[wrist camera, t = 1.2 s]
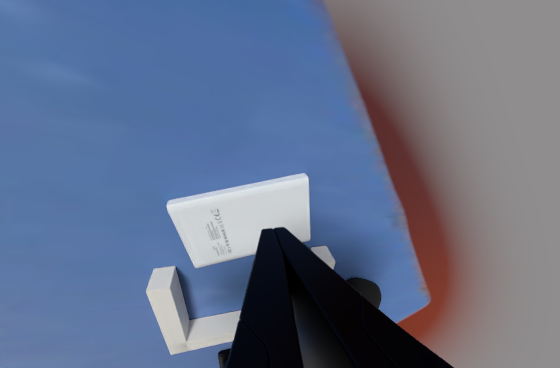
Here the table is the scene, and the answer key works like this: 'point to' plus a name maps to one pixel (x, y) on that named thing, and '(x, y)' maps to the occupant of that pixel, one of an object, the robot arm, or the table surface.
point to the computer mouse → (367, 290)
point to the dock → (175, 316)
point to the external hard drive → (240, 217)
